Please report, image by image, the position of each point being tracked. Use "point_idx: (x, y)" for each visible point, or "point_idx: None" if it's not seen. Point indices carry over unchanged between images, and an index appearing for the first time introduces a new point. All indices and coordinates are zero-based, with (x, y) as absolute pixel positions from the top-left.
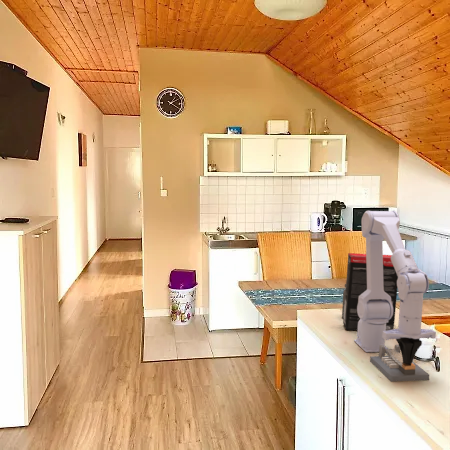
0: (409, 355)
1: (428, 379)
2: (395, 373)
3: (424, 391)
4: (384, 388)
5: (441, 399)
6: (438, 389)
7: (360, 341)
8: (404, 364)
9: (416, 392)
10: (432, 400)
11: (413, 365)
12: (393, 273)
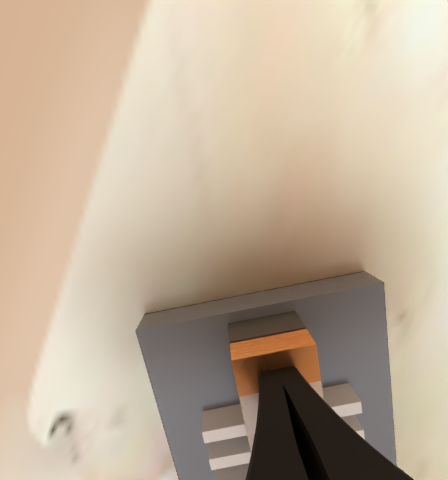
0: (315, 430)
1: (147, 314)
2: (343, 322)
3: (218, 172)
4: (435, 185)
5: (150, 75)
6: (127, 205)
7: None
8: (310, 369)
9: (270, 154)
10: (211, 56)
11: (246, 361)
12: None
